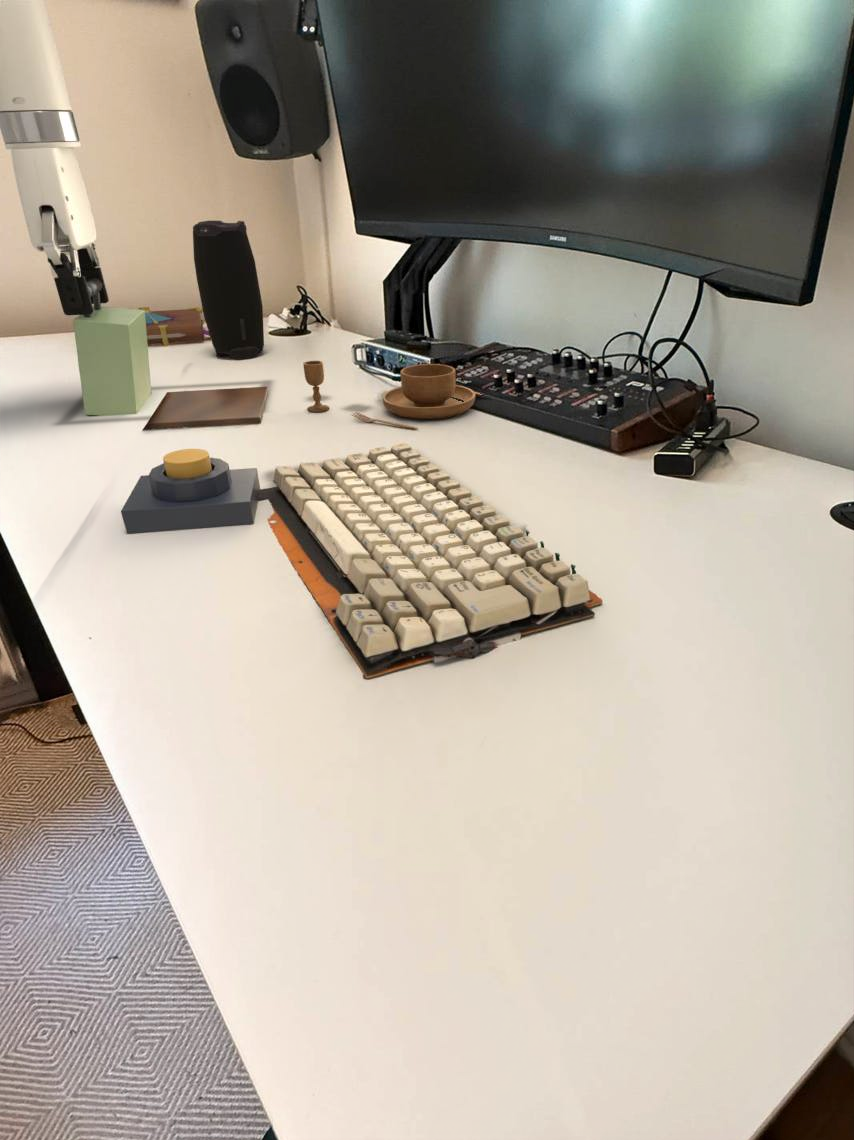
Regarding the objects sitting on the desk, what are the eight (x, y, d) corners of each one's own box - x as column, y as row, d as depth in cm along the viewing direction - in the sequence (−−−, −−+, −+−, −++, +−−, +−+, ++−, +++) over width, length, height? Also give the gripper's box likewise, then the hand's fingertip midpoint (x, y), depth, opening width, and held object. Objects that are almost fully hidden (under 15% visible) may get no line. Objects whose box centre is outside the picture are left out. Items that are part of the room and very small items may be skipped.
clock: (82, 414, 97) (65, 285, 90) (101, 393, 106) (87, 273, 98) (137, 418, 99) (125, 291, 91) (152, 397, 107) (142, 279, 100)
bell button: (163, 483, 72) (159, 464, 71) (170, 468, 75) (166, 449, 74) (209, 480, 72) (205, 461, 71) (214, 465, 75) (211, 447, 74)
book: (231, 346, 142) (226, 316, 139) (82, 356, 136) (73, 326, 133) (227, 324, 155) (223, 297, 152) (91, 333, 149) (83, 305, 146)
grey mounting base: (126, 534, 71) (115, 491, 69) (146, 496, 78) (136, 457, 76) (253, 524, 72) (246, 482, 70) (260, 488, 80) (253, 449, 78)
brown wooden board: (65, 435, 96) (63, 428, 96) (95, 401, 109) (93, 395, 108) (260, 423, 99) (259, 416, 99) (268, 392, 112) (267, 386, 111)
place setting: (430, 433, 94) (428, 382, 91) (300, 411, 103) (293, 364, 100) (501, 398, 107) (501, 352, 104) (380, 381, 116) (376, 338, 113)
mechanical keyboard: (241, 496, 79) (235, 463, 78) (418, 465, 86) (416, 435, 85) (372, 694, 51) (368, 649, 49) (620, 623, 58) (624, 582, 56)
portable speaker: (215, 350, 135) (191, 220, 125) (271, 348, 136) (252, 218, 126) (207, 361, 128) (182, 224, 118) (267, 359, 129) (246, 222, 119)
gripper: (29, 134, 93) (74, 298, 103) (-27, 133, 79) (32, 324, 88) (96, 132, 94) (135, 295, 104) (52, 131, 80) (102, 320, 89)
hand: (87, 307), depth 96 cm, fingers closed on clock, 6 cm apart
